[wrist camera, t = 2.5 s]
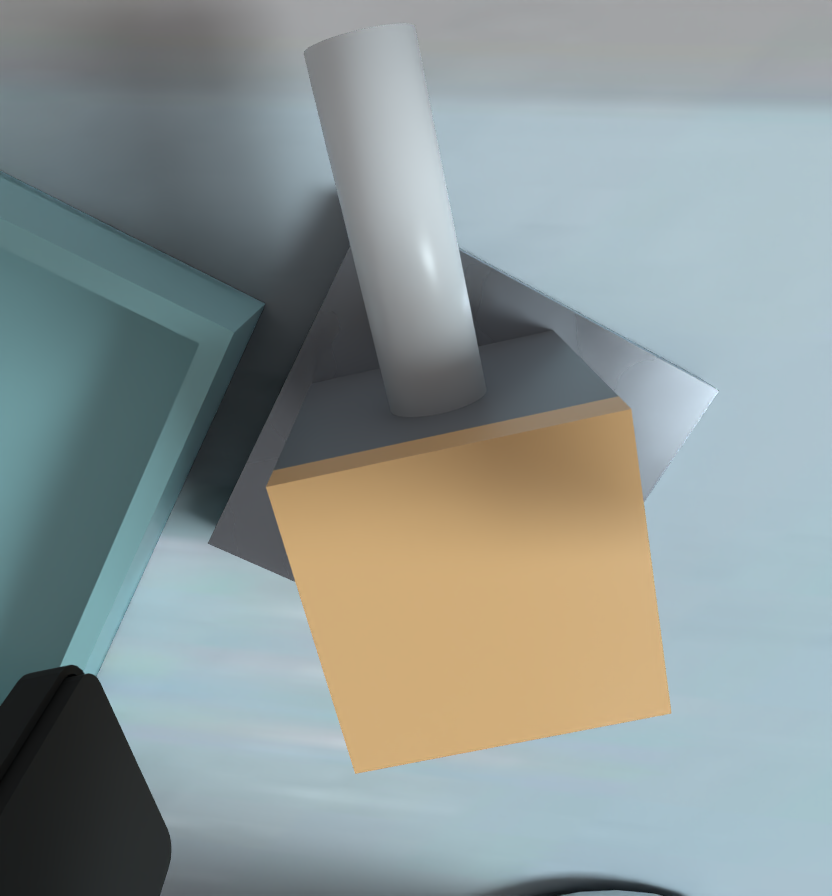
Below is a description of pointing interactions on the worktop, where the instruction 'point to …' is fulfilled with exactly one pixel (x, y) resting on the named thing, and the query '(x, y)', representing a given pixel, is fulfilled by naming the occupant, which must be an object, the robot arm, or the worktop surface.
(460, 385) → the grey block with cylinder
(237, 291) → the bin
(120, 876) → the robot arm
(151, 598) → the worktop surface
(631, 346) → the grey piece
